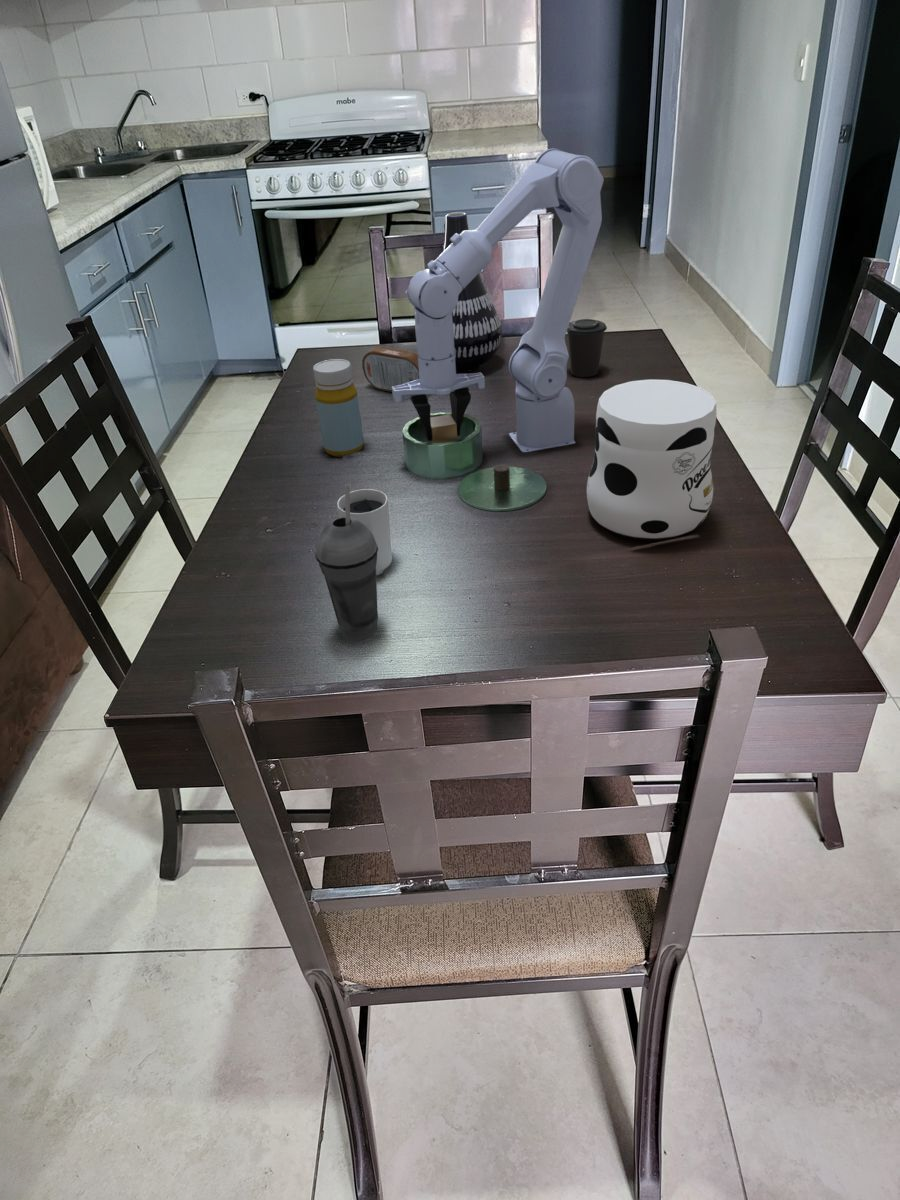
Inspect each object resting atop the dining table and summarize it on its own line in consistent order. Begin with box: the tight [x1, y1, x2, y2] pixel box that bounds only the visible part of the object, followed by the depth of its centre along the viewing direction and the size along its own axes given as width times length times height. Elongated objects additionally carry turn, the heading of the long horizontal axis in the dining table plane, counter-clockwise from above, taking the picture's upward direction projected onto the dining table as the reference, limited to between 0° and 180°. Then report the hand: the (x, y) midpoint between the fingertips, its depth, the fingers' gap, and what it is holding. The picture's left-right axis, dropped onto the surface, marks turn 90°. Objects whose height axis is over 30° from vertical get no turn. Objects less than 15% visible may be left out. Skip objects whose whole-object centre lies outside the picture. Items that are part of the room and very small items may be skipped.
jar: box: [401, 411, 484, 480], centre depth 137 cm, size 13×13×6 cm
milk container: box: [586, 379, 717, 542], centre depth 115 cm, size 17×17×18 cm
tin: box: [361, 345, 420, 393], centre depth 163 cm, size 15×3×8 cm, turn 58°
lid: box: [457, 463, 547, 512], centre depth 128 cm, size 14×14×4 cm
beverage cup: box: [315, 484, 379, 642], centre depth 97 cm, size 7×7×20 cm
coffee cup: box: [566, 318, 608, 378], centre depth 164 cm, size 8×8×10 cm
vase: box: [443, 211, 503, 373], centre depth 166 cm, size 16×16×30 cm
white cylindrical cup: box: [336, 488, 393, 576], centre depth 112 cm, size 7×7×10 cm
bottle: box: [312, 358, 365, 458], centre depth 141 cm, size 7×7×15 cm
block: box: [429, 415, 458, 443], centre depth 135 cm, size 4×4×4 cm
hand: (442, 435), depth 136 cm, fingers closed on block, 4 cm apart
